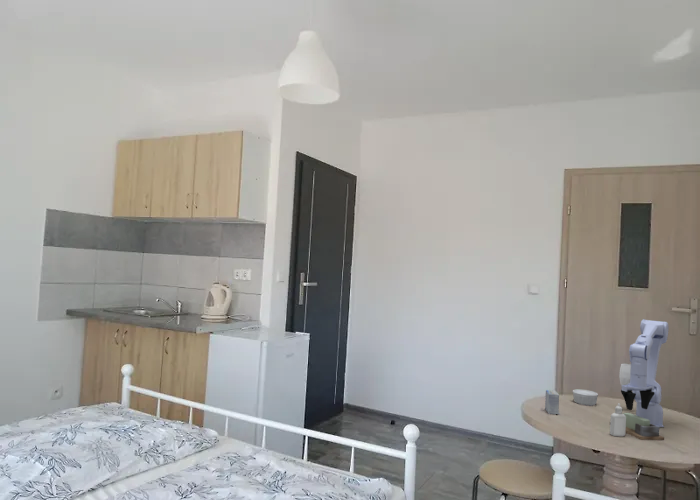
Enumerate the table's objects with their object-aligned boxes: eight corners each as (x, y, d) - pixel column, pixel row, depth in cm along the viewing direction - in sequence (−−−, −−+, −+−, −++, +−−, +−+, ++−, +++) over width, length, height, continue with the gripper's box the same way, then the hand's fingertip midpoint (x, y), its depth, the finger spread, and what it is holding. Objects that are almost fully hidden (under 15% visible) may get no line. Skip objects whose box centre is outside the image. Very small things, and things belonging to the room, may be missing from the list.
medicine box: (558, 415, 225) (559, 394, 225) (547, 413, 226) (548, 393, 226) (555, 410, 232) (556, 390, 233) (544, 409, 233) (545, 389, 234)
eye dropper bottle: (626, 437, 198) (628, 406, 198) (610, 435, 200) (611, 404, 200) (624, 434, 202) (625, 403, 202) (608, 432, 204) (609, 401, 204)
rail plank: (628, 425, 212) (628, 412, 212) (649, 433, 202) (650, 420, 202) (622, 425, 211) (623, 413, 211) (643, 433, 201) (644, 420, 201)
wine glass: (636, 410, 240) (638, 365, 240) (634, 414, 234) (637, 367, 234) (618, 407, 244) (620, 362, 244) (616, 410, 238) (618, 365, 238)
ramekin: (575, 405, 244) (575, 393, 244) (569, 399, 255) (569, 388, 255) (600, 407, 242) (601, 396, 242) (593, 401, 253) (594, 390, 253)
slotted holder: (631, 424, 216) (632, 414, 216) (664, 440, 198) (664, 428, 198) (609, 424, 215) (610, 413, 215) (640, 439, 197) (640, 427, 197)
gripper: (644, 372, 213) (642, 405, 213) (615, 372, 208) (614, 406, 208) (659, 376, 206) (657, 410, 206) (630, 376, 202) (628, 411, 201)
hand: (636, 409), depth 207 cm, fingers open, 7 cm apart
